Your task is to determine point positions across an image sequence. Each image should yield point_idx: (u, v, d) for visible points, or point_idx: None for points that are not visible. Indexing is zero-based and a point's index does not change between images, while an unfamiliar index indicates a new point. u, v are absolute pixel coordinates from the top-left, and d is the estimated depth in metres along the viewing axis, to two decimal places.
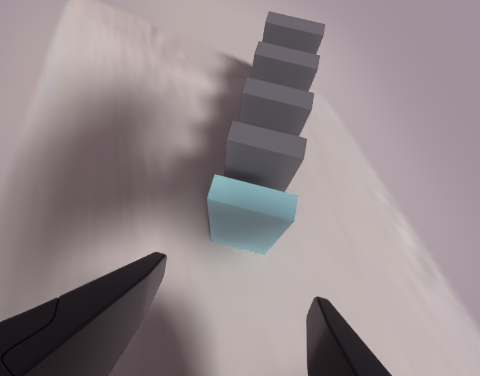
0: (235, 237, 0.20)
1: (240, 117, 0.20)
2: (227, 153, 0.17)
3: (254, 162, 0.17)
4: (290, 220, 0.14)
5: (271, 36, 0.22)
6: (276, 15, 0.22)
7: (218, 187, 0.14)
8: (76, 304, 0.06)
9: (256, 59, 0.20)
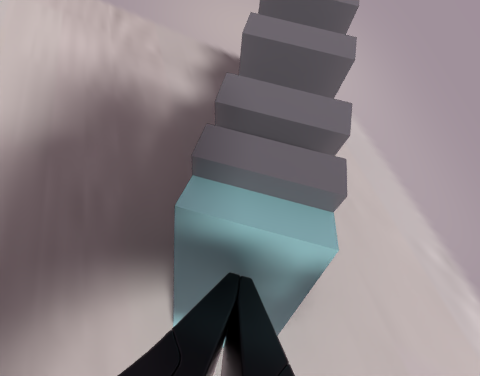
0: None
1: None
2: None
3: None
4: (331, 249, 0.07)
5: (271, 10, 0.14)
6: None
7: (197, 192, 0.08)
8: (192, 337, 0.05)
9: (245, 42, 0.11)
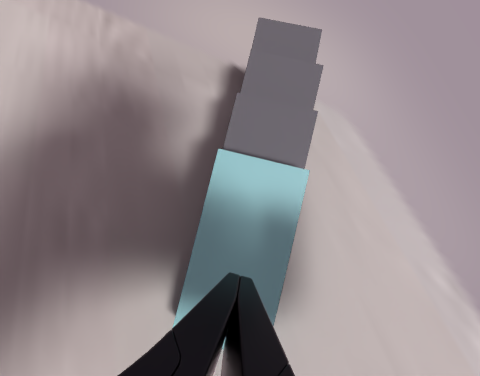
0: None
1: (243, 85, 0.17)
2: (233, 117, 0.15)
3: (263, 128, 0.15)
4: (305, 171, 0.13)
5: None
6: None
7: None
8: (192, 337, 0.05)
9: (260, 22, 0.20)
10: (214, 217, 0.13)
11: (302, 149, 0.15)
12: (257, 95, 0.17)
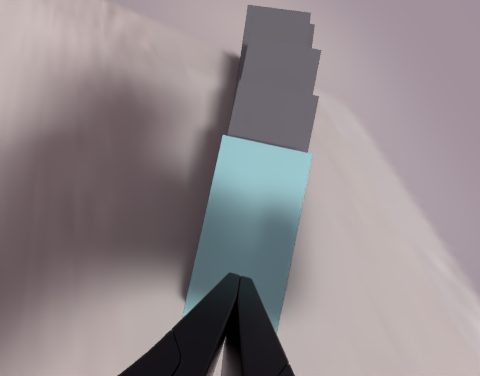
0: (234, 263, 0.13)
1: (243, 71, 0.17)
2: (236, 104, 0.15)
3: (266, 114, 0.15)
4: (309, 154, 0.14)
5: None
6: None
7: None
8: (192, 337, 0.05)
9: (249, 10, 0.20)
10: (221, 202, 0.14)
11: (305, 133, 0.15)
12: (257, 81, 0.17)
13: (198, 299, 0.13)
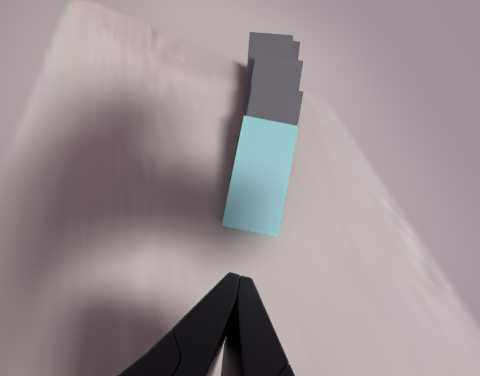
0: (252, 192, 0.22)
1: (253, 76, 0.26)
2: (251, 97, 0.24)
3: (270, 103, 0.24)
4: (296, 126, 0.23)
5: None
6: None
7: None
8: (192, 337, 0.05)
9: (251, 35, 0.29)
10: (243, 155, 0.22)
11: (295, 115, 0.24)
12: (262, 82, 0.26)
13: (231, 214, 0.22)
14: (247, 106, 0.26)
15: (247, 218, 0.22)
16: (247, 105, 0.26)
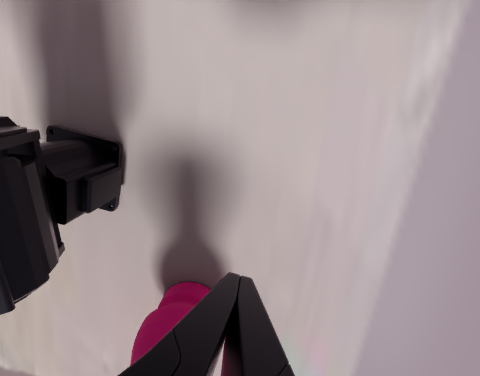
0: None
1: None
2: None
3: None
4: None
5: None
6: None
7: None
8: (192, 337, 0.05)
9: None
10: None
11: None
12: None
13: None
14: None
15: None
16: None
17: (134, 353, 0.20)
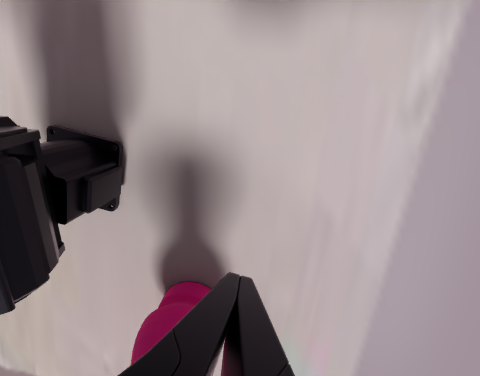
0: None
1: None
2: None
3: None
4: None
5: None
6: None
7: None
8: (192, 337, 0.05)
9: None
10: None
11: None
12: None
13: None
14: None
15: None
16: None
17: (134, 353, 0.20)
